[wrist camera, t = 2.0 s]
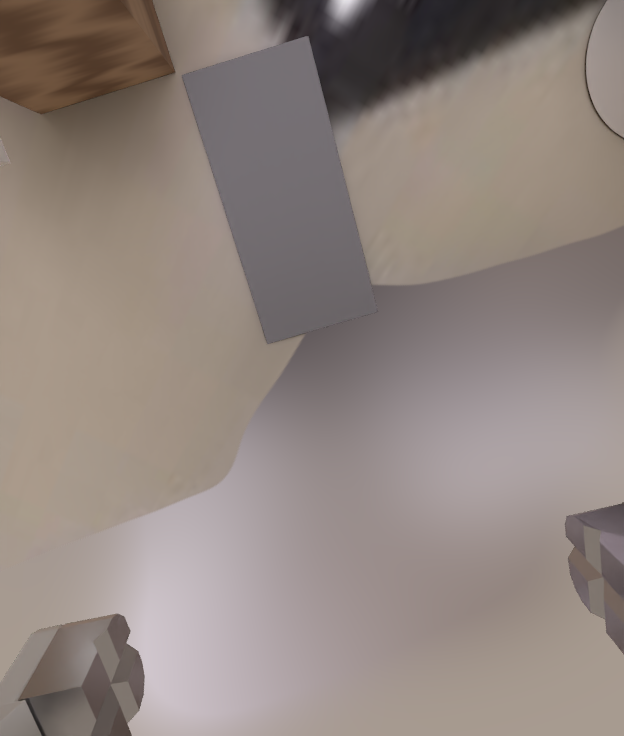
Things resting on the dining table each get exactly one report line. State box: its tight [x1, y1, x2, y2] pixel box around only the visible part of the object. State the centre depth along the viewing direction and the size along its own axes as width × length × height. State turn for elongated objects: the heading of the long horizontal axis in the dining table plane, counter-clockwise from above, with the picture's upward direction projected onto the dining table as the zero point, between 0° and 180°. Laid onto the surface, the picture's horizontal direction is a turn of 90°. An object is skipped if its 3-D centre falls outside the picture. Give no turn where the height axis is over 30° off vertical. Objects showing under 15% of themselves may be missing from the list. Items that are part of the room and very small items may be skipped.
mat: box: [182, 36, 378, 344], centre depth 47 cm, size 11×24×1 cm, turn 16°
